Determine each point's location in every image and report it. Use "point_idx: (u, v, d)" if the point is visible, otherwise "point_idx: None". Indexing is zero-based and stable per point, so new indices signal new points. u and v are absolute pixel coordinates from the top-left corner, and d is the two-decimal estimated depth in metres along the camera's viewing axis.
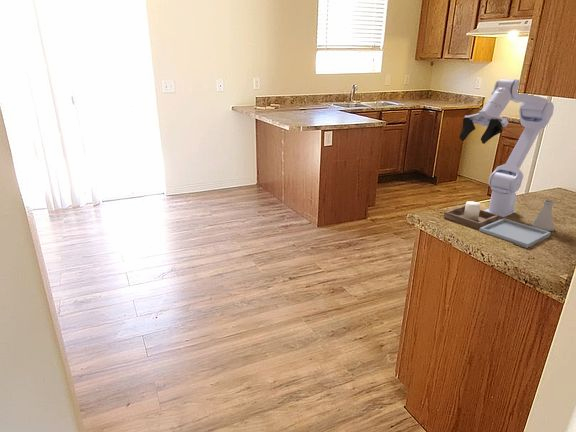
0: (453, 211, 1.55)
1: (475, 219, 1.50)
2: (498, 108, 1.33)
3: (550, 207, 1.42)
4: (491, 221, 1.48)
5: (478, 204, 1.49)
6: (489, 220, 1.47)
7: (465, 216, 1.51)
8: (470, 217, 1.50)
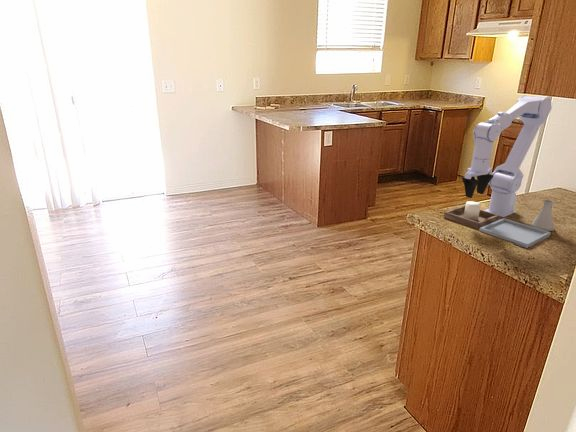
0: (453, 211, 1.55)
1: (475, 219, 1.50)
2: (473, 160, 1.44)
3: (550, 207, 1.42)
4: (491, 221, 1.48)
5: (478, 204, 1.49)
6: (489, 220, 1.47)
7: (465, 216, 1.51)
8: (470, 217, 1.50)
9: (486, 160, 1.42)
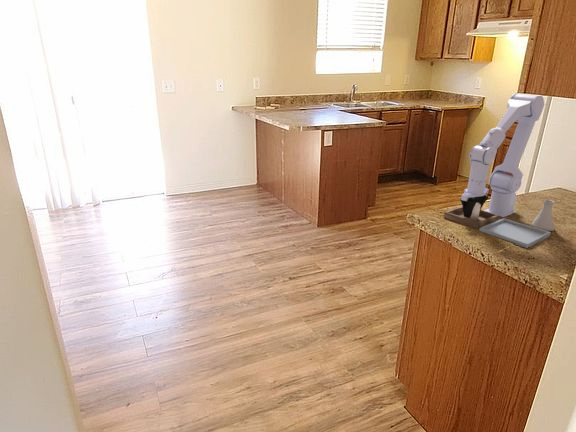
0: (453, 211, 1.55)
1: (475, 219, 1.50)
2: (469, 182, 1.47)
3: (550, 207, 1.42)
4: (491, 221, 1.48)
5: (478, 204, 1.49)
6: (489, 220, 1.47)
7: None
8: (470, 217, 1.50)
9: (482, 182, 1.45)
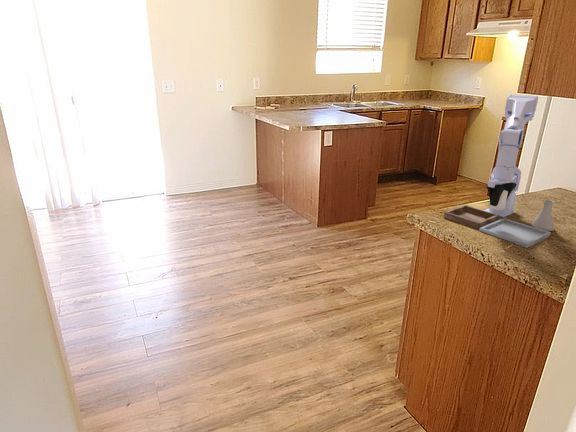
0: (453, 211, 1.55)
1: (502, 207, 1.41)
2: (497, 168, 1.38)
3: (550, 207, 1.42)
4: (491, 221, 1.48)
5: (505, 191, 1.40)
6: (489, 220, 1.47)
7: None
8: None
9: (511, 168, 1.36)
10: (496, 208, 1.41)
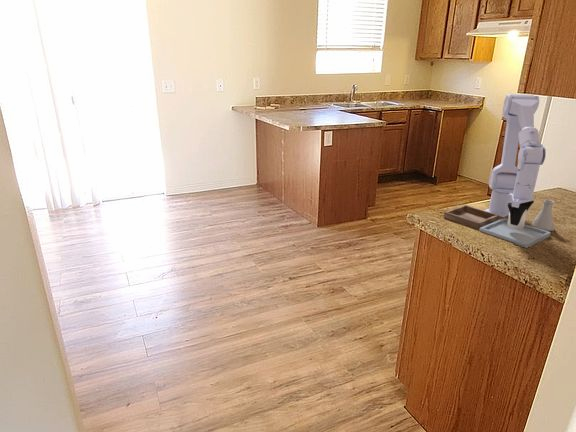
0: (453, 211, 1.55)
1: (522, 226, 1.37)
2: (518, 187, 1.34)
3: (550, 207, 1.42)
4: (491, 221, 1.48)
5: None
6: (489, 220, 1.47)
7: None
8: None
9: (532, 186, 1.32)
10: (517, 227, 1.37)
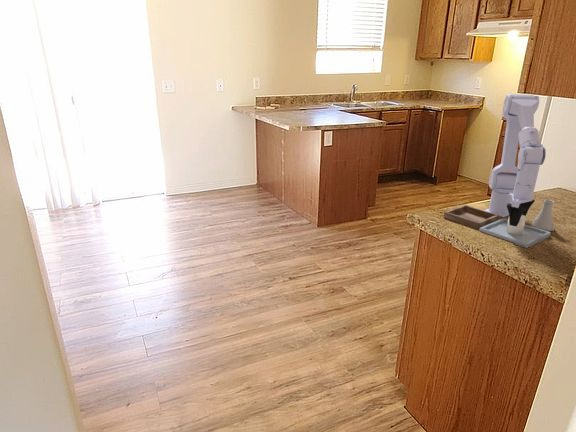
0: (453, 211, 1.55)
1: (521, 233, 1.38)
2: (518, 187, 1.34)
3: (550, 207, 1.42)
4: (491, 221, 1.48)
5: (523, 216, 1.38)
6: (489, 220, 1.47)
7: (510, 230, 1.39)
8: (516, 231, 1.38)
9: (532, 186, 1.32)
10: (515, 234, 1.38)
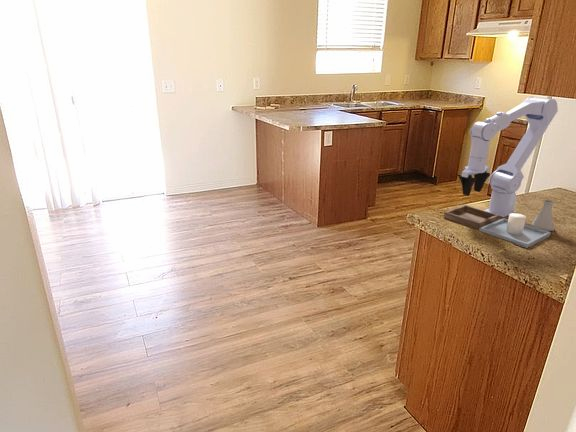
0: (453, 211, 1.55)
1: (521, 233, 1.38)
2: (470, 159, 1.47)
3: (550, 207, 1.42)
4: (491, 221, 1.48)
5: (523, 216, 1.38)
6: (489, 220, 1.47)
7: (510, 230, 1.39)
8: (516, 231, 1.38)
9: (483, 159, 1.45)
10: (515, 234, 1.38)
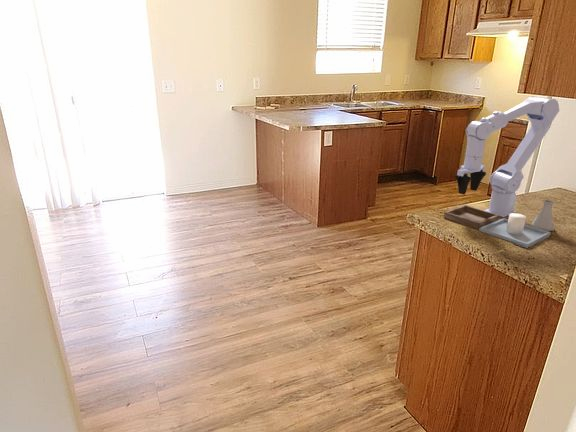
0: (453, 211, 1.55)
1: (521, 233, 1.38)
2: (466, 158, 1.48)
3: (550, 207, 1.42)
4: (491, 221, 1.48)
5: (523, 216, 1.38)
6: (489, 220, 1.47)
7: (510, 230, 1.39)
8: (516, 231, 1.38)
9: (478, 158, 1.46)
10: (515, 234, 1.38)
